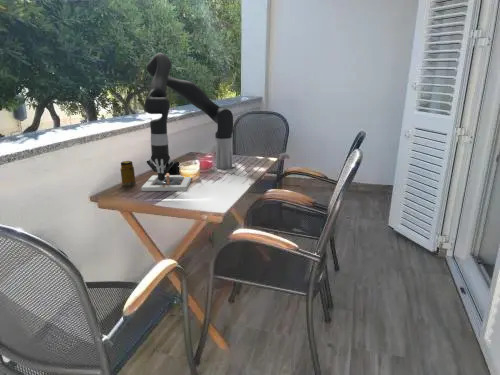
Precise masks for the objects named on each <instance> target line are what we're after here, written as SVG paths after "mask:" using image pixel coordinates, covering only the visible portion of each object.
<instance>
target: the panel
mask: <svg viewBox="0 0 500 375" xmlns="http://www.w3.org/2000/svg"><path fill="white" fill-rule="evenodd" d="M181 175H182V174H179V175H178V174H169V178H176V179H179V180H180V181H182V182H180V185H157V183H156V182H157V181H158V180H159V179H158V174H157V175H155V174H154V175H151V177H150V178H149V179H148V180H147V181H146V182H144V184H143V185H142V186H141V192H169V191H170V192H177V191H178V192H179V191H180V192H181V191H184V192H185V191H187V189H188V188H189V186H190V184H191V181H192V180H191V177H185V178H184V177H183V176H181ZM165 178H167V177H166V174H165ZM155 184H156V185H155Z"/></svg>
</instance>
